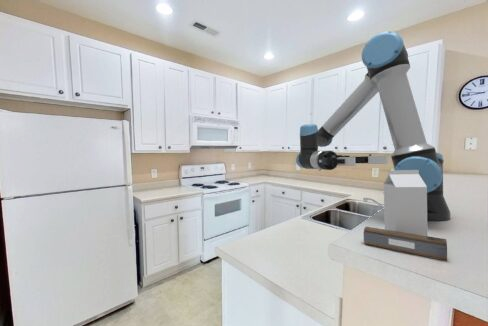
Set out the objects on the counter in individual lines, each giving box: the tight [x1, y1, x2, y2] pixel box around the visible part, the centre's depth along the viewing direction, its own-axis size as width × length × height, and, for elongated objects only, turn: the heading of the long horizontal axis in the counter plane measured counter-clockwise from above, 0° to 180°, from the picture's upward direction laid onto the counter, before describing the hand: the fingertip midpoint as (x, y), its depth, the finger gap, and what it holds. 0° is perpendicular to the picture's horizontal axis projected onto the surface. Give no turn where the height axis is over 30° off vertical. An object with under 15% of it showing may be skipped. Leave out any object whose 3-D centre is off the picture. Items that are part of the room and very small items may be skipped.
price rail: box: [363, 226, 448, 262], centre depth 53 cm, size 3×16×4 cm, turn 50°
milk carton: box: [383, 169, 429, 236], centre depth 59 cm, size 7×7×19 cm
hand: (371, 160), depth 68 cm, fingers open, 13 cm apart
